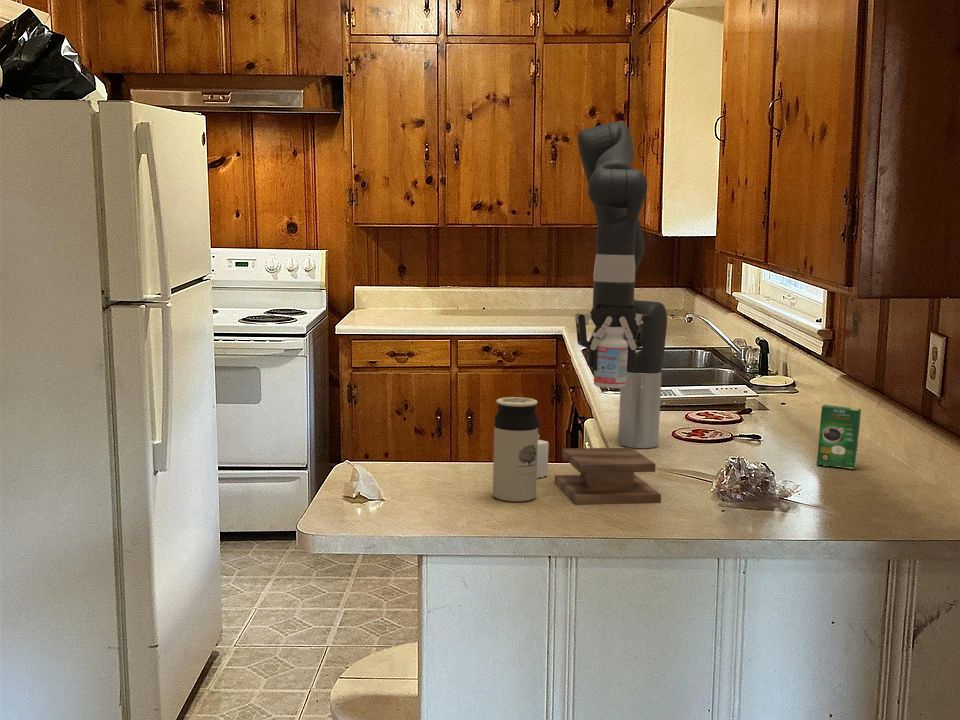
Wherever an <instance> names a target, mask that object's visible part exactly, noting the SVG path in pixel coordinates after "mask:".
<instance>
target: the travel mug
mask: <svg viewBox="0 0 960 720" xmlns="http://www.w3.org/2000/svg"><path fill="white" fill-rule="evenodd" d="M538 402H539V401H538V400H536V399H534V398H530V397H517V396H511V397H509V396H508V397H506V396H505V397H501V398H497V399H496V402H495V403H496V404H497V408H498V411H497V413H496V414H495V416H494V427H493V428H494V429H493V433H494V434H493V466H492V467H493V468H492V469H493V470H492V471H493V472H492V496H493V497H494V498H496V499H497V500H499V501H503V502H510V503H512V502H513V503H523V502H529V501H531V500H533V499H536V497H537V483H538V482H537V449H538V440H539V438H538V419H539V416H538V415H537V413H536V407H537V404H538Z"/></svg>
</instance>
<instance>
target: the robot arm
mask: <svg viewBox="0 0 960 720" xmlns="http://www.w3.org/2000/svg"><path fill="white" fill-rule="evenodd" d="M577 146H578V151H579V156H580V160H581V164H582V168H583V170H584V174H585V178H586V181H587V185H588V186H587V187H588V188H587V192H588V198H589V201H590V202H591V203H592V205H593V209H594V214H595V220H596V224H597V229H596V239H595V240H596V242H595V244H596V248H595V260H594V266H593V274H592V277H593V291H592V308H591V311H590V312H589V313H588V312H587V313H576V314H575V316H574V319H575V329H576V339H577V344H578V345H579V346H581V347H583V348H586V350H587V352H586V354H587V355H586V365H587V366H588V367H589V369H590V370H591V371H594V370H596V369H597V350H596V348H597V346H598V344H599V342H600V340H602V338H603V336H604V334H605V332H606V330H607V327H623V328H624V330H623V331H624V335H623V338H624V339H626V340H627V342H628V359H627V380H626V386H625V387H622V388H619V391H620V392H619V409H618V412H619V413H618V435H617V443H618V445H619V446H622V447H625V448H633V449H634V448H637V449H650V448H657V447H658V446H659V437H660V435H659V434H660V433H659V431H660V418H661V417H660V416H661V412H660V411H661V393H662V392H661V391H662V370H663V369H662V368H663V361H664V358H665V348H666V347H665V346H666V337H667V330H668V328H667V327H668V313H667V309H666V306H665V305H664V304H663V303H661V302H659V301H651V300H649V301H648V300H638V299H635V286H636V283H635V282H636V272H637V270H638V268H639V266H640V263H641V261H642V259H643V256H644V253H645V249H646V248H645V240H644V236H643V230H642V225H641V221H640V219H639V218H640V214H641V210H642V208H643V205H644V202H645V198H646V196H647V191H648V179H647V178H646V176H645V174H644V172H642V170H640V169H634V168H633V162H634V161H633V160H634V156H635V153H634V152H635V149H634V143H633V139H632V134H631V131H630V129H629V127H628V126H627V124H625V123H624V122H622V121H612V122H609V123H604V124H599V125H596V126H592V127H588V128H583V129H581V130H580V131H579V132H578V136H577ZM590 320H591V321H592V323H593V324H594V325H595V327H594V329H593V331H592V332H591V335H590V338H589V340H588V336H587V327H586V326H587V325H589V321H590ZM603 328H604V329H603ZM601 332H602V333H601ZM640 348H641V349H640ZM637 349H640V350H639V351H638V352H636V351H637Z"/></svg>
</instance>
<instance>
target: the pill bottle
mask: <svg viewBox="0 0 960 720" xmlns="http://www.w3.org/2000/svg"><path fill="white" fill-rule="evenodd" d="M603 329H604V328H603ZM623 330H624V328H623V327H607V330H606V332H605V334H604V336H603V338H602V340H600V342H599V344H598V346H597V348H596V350H597V369H596V370H593V384H594V386H595V387H598V388H604V389H620V388H622V387H625V386H626V380H627V359H628V342H627V340H626V339H624V338H623V335H624V331H623ZM601 333H602V332H601Z"/></svg>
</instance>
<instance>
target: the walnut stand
mask: <svg viewBox="0 0 960 720" xmlns="http://www.w3.org/2000/svg"><path fill="white" fill-rule="evenodd" d="M561 457H562V458H563V459H564V460H565V461H566V462H567V463H568V464H570V465H571V466H572V467H573V468H574V469H575V470H576V471H577V472H578V473H579V474H555V475H554V484H555V483H556V484H557V485H558V486H559V487H560V488H559V487H558V486H557V485H556V484H555V485H556V486H557V487H558V488H559V489H560V491H562V492H563V493H564V494H565V495H566V496H567V497H568V498H569V500H571V501H572V503H573V504H574V505H611V504H612V505H614V504H658V503H660V504H661V502H662V494H661V493H660V492H658V491H657V490H656V489H655V488H653V487H652V486H650V484H648V483H646V482H645V481H644V480H643V479H641V478H640V477H639V476H638V475H636V474H635V473H655V472H656V463H655V462H654V461H652V460H650V459H649V458H648V457H646V456H645V455H643V454H642V453H640V452H639V451H637V450H636V449H634V448H633V447H585V448H584V447H583V448H582V447H580V448H579V447H578V448H577V447H576V448H575V447H574V448H573V447H572V448H571V447H570V448H564V447H562V449H561Z"/></svg>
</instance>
